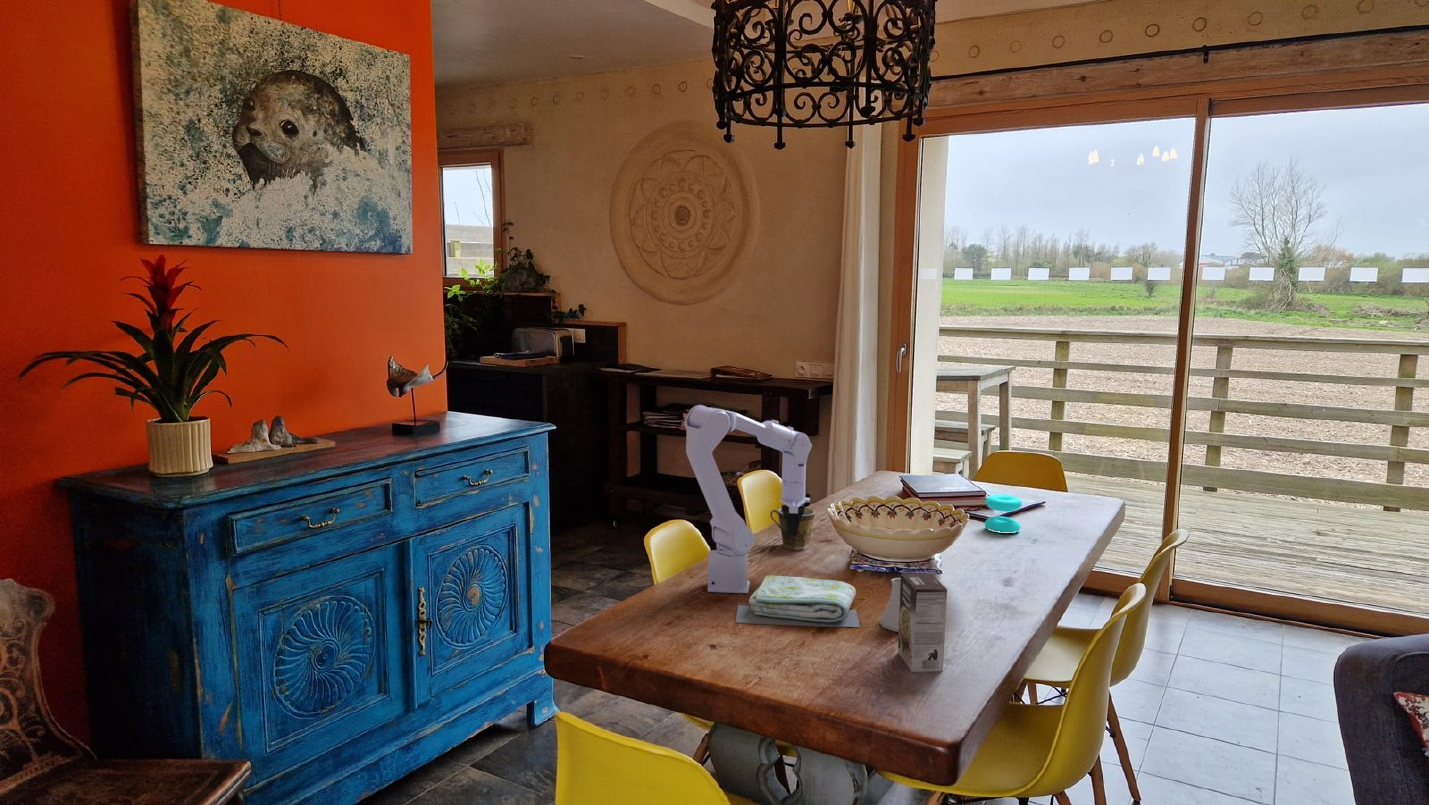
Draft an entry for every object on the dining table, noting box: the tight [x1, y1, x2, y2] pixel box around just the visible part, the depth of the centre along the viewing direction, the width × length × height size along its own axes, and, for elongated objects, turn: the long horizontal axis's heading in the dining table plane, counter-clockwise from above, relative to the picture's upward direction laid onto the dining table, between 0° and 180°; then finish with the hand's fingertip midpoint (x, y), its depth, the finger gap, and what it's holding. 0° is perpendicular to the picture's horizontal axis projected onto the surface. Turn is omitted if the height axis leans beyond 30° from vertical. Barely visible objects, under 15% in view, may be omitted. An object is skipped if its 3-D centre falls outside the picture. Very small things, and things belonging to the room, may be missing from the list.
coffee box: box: [897, 572, 948, 673], centre depth 171 cm, size 9×6×16 cm
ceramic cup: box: [769, 507, 816, 551], centre depth 246 cm, size 13×10×10 cm
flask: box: [878, 577, 901, 633], centre depth 189 cm, size 7×7×10 cm
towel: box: [748, 575, 857, 622], centre depth 199 cm, size 18×21×5 cm
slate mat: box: [735, 604, 860, 629], centre depth 194 cm, size 26×10×1 cm, turn 86°
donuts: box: [984, 494, 1023, 532], centre depth 264 cm, size 10×10×10 cm
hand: (792, 535), depth 220 cm, fingers closed
